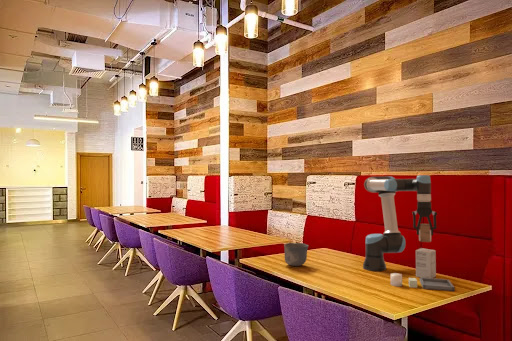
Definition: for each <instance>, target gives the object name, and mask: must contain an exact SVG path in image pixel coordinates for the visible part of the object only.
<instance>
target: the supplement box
mask: <svg viewBox="0 0 512 341" xmlns="http://www.w3.org/2000/svg"><path fill="white" fill-rule="evenodd" d="M436 252H437V251H436V250H435V249H428V248H422V247H420V248H418V249H416V250H415V277H416V278H420V277H421V278H435V277H436V276H437V269H436V268H437V262H436V259H437V255H436Z"/></svg>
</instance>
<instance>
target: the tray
mask: <svg viewBox="0 0 512 341" xmlns="http://www.w3.org/2000/svg"><path fill="white" fill-rule="evenodd" d="M419 282H420V285H421V287H422V289H423V290H434V291H447V292H448V291H449V292H455V290H456V289H455V285H453V283H452V282H451V281H450V279H444V278H435V277H434V278H421V277H419Z"/></svg>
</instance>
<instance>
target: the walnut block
mask: <svg viewBox="0 0 512 341" xmlns="http://www.w3.org/2000/svg"><path fill="white" fill-rule="evenodd" d="M419 229H420V238H421V241H420V242H421V243H431V241H430V230H431V229H430V225H429V223H420V227H419Z"/></svg>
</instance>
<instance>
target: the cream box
mask: <svg viewBox="0 0 512 341" xmlns="http://www.w3.org/2000/svg"><path fill="white" fill-rule="evenodd" d="M408 286H409V288H416V289H417V288H418V280H417V277H416V278H415V277H408Z"/></svg>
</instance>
